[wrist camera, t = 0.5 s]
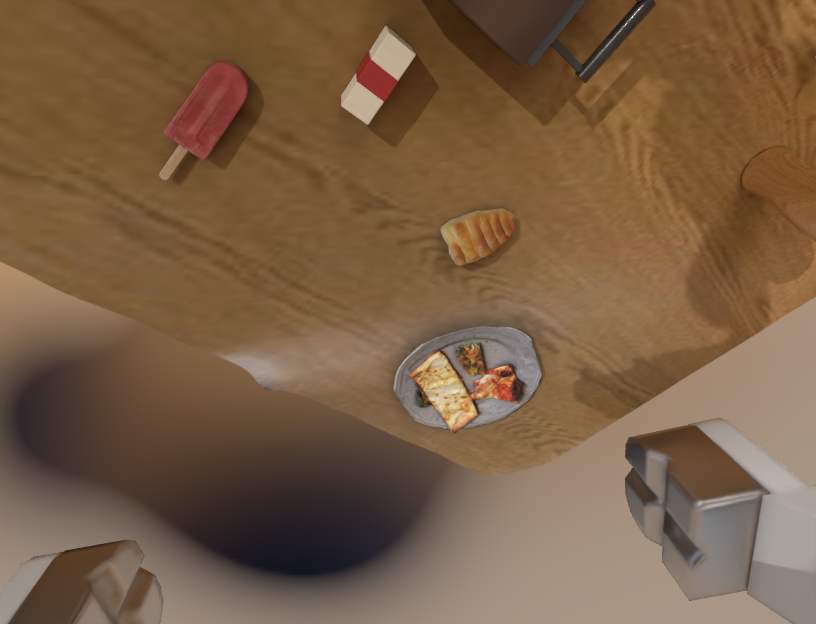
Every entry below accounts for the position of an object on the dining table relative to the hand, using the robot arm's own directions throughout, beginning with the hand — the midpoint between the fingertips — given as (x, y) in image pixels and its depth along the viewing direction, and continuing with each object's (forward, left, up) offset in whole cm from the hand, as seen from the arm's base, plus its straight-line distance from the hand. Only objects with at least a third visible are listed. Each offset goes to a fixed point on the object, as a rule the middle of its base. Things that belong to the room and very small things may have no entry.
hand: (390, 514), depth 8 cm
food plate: (+31, +44, -49) cm, 73 cm away
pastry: (+10, +26, -49) cm, 57 cm away
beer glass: (-18, +52, -49) cm, 74 cm away
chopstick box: (+2, +5, -49) cm, 49 cm away
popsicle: (+17, -7, -49) cm, 53 cm away
